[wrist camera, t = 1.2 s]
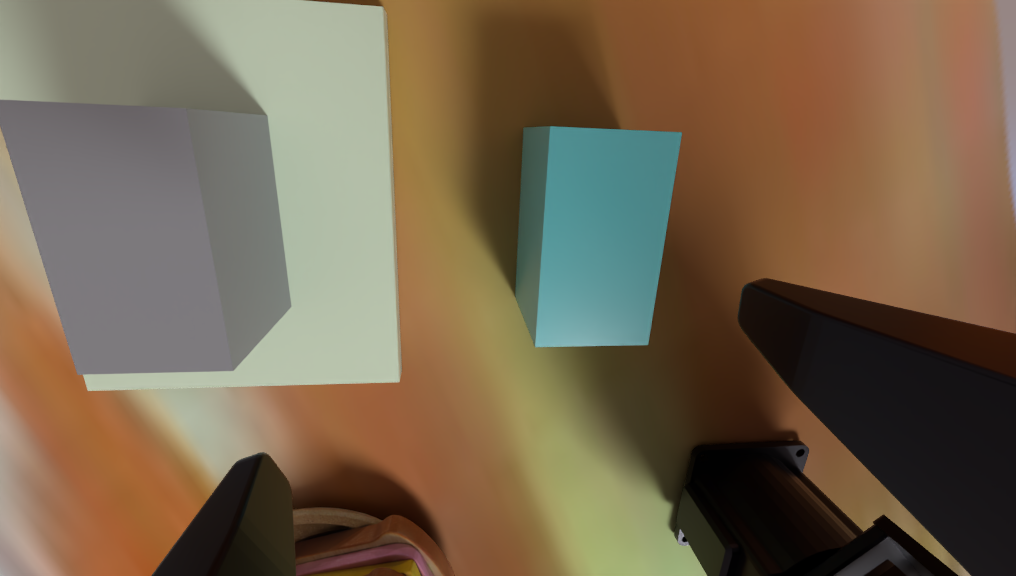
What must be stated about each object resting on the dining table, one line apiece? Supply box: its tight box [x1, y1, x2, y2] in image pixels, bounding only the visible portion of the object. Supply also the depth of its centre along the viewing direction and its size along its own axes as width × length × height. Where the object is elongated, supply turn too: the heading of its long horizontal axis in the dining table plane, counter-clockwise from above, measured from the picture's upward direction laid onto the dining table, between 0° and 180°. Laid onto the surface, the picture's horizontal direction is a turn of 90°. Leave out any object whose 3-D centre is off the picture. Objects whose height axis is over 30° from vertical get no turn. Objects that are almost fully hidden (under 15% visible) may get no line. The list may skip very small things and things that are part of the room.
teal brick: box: [515, 126, 682, 347], centre depth 16 cm, size 4×7×5 cm, turn 177°
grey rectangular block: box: [0, 100, 291, 375], centre depth 14 cm, size 4×7×5 cm, turn 177°
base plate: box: [0, 0, 402, 391], centre depth 17 cm, size 12×14×1 cm
